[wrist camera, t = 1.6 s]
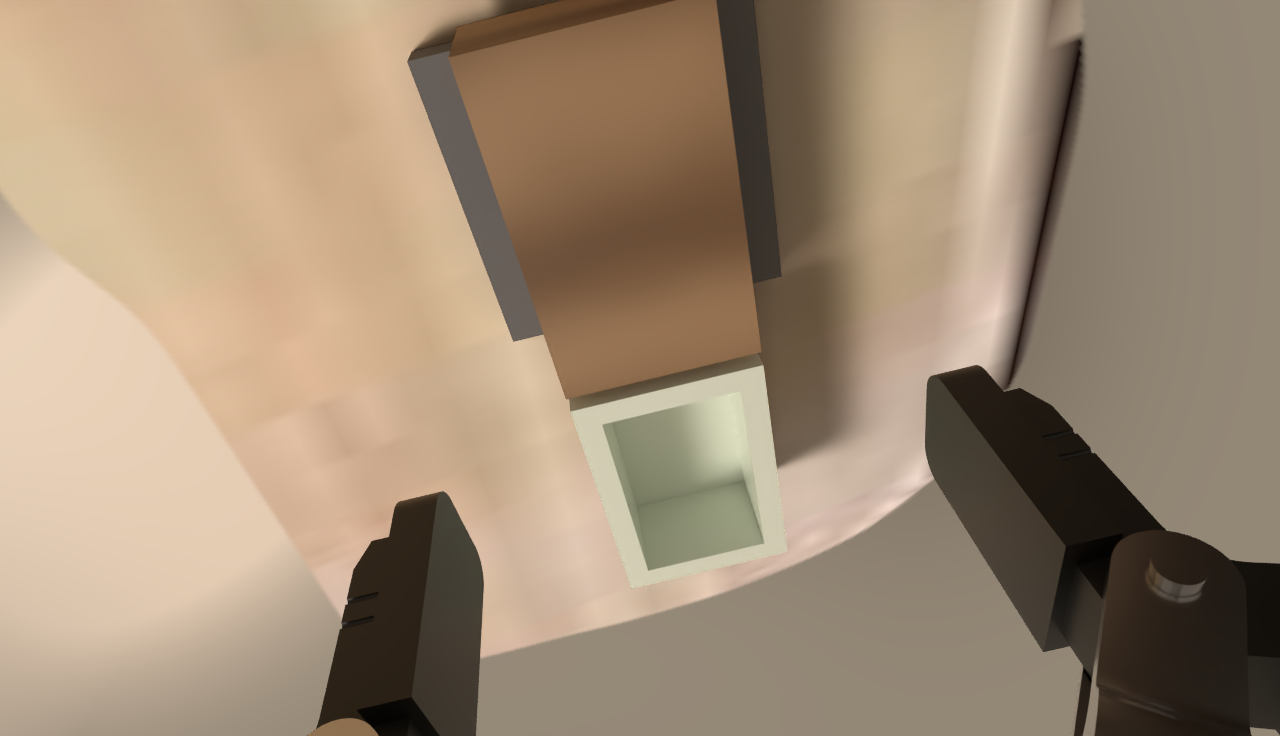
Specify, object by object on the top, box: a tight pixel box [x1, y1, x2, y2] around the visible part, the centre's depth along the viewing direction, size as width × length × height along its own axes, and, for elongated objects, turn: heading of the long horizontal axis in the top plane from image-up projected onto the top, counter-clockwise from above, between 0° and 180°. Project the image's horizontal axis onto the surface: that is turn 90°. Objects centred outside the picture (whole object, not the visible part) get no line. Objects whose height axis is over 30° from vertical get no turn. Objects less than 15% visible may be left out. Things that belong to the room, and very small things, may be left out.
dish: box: [569, 353, 788, 589], centre depth 27 cm, size 9×6×4 cm, turn 12°
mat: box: [407, 0, 781, 342], centre depth 22 cm, size 9×9×1 cm
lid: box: [448, 0, 762, 399], centre depth 21 cm, size 10×6×3 cm, turn 12°
